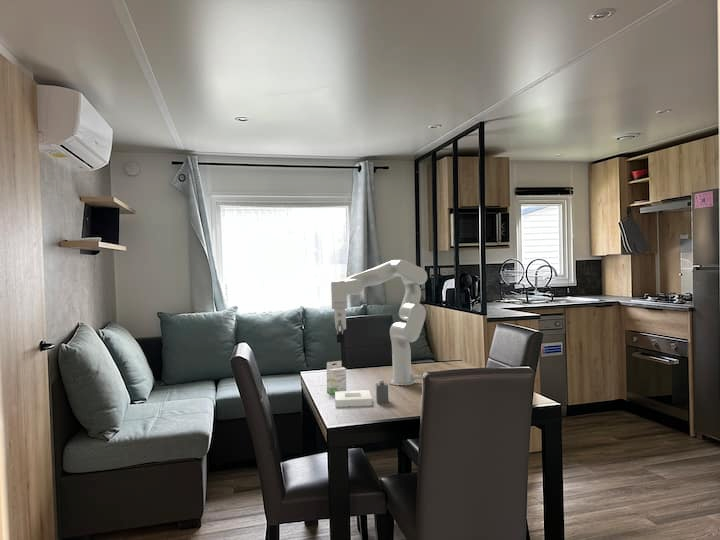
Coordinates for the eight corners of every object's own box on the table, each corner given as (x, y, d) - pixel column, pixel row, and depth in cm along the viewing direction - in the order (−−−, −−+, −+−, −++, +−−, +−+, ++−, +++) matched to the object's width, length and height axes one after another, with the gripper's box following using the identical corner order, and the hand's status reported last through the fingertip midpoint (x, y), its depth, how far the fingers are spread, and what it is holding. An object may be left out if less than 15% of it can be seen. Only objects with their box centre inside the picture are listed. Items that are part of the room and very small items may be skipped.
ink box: (330, 394, 245) (329, 363, 245) (326, 392, 249) (325, 362, 249) (347, 392, 249) (346, 361, 249) (342, 390, 253) (341, 360, 253)
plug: (387, 400, 231) (386, 379, 231) (388, 403, 226) (387, 381, 226) (376, 400, 230) (375, 379, 230) (377, 403, 225) (376, 382, 225)
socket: (369, 396, 239) (369, 389, 239) (372, 405, 223) (371, 398, 223) (335, 397, 238) (334, 391, 238) (335, 407, 222) (335, 400, 222)
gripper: (347, 306, 238) (348, 343, 238) (347, 304, 255) (348, 338, 255) (331, 307, 238) (332, 344, 238) (332, 304, 255) (333, 338, 255)
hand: (340, 341), depth 246 cm, fingers open, 9 cm apart
